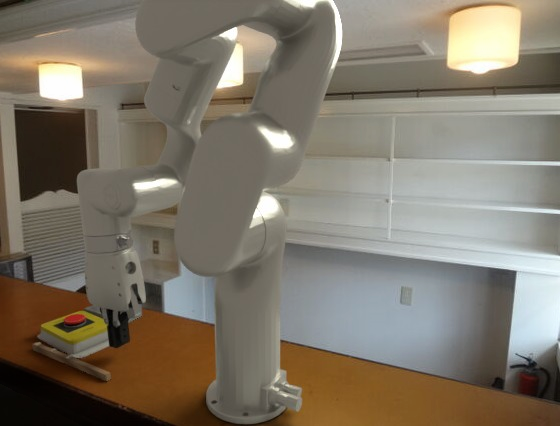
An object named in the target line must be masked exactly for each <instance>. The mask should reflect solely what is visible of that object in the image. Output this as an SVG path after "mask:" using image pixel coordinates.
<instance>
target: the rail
mask: <svg viewBox="0 0 560 426" xmlns="http://www.w3.org/2000/svg"><path fill="white" fill-rule="evenodd" d="M32 350H33V351H34V352H36V353H39V354H41V355H42V356H46V357H48V358H50V359H53V360H54V361H58V362H60V363H62V364H64V363H65V365H67V364H68V365H67V366H69V365H70V367H71V366H73V367H72V368H74V367H75V368H74V369H76V368H77V369H76V370H78V369H79V371H80V372H83V371H84V372H83V373H85V372H86V374H88V375H90V374H91V375H90V376H92V375H94V376H93V377H95V376H96V377H95V378H97V379H99V378H100V380H102V381H104V382H106V381H107V382H109V381H111V380H112V376H111V371H110V372H109V371H108V370H105V369H103V368H100V367H98V366H95V365H93V364H91V363H88V362H86V361H83V360H81V359H76V358H74V357H73V356H72V355H68V354H66V353H64V352H63V351H60V350H58V349H57V348H55V347H53V348H52V347H49V346H47V345H45V344H42V342H40V341H38V342H33V343H32ZM110 379H111V380H110ZM108 380H109V381H108Z"/></svg>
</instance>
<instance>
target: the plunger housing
mask: <svg viewBox="0 0 560 426" xmlns="http://www.w3.org/2000/svg"><path fill="white" fill-rule="evenodd" d="M138 305H139V309H140V312H141V314H140V315H139V316H137V317H135V318H131V319H130V321H129V322H128V324H129V323H131V322H133V320H134V321H136V320H138V319H140V318H142V317H143V310H142V309H143V306H142V304H138ZM83 311H86V312H88V313H90V314H93V315H95V316H97V317H100V318H102V319H103V315H102V314H101V312H100V311H98V310H97V309H95V308H94V307H93V304H91V305H89V306H87V307H84V310H83ZM121 313H122V312H121ZM141 316H142V317H141ZM139 317H140V318H139ZM137 318H138V319H137ZM135 319H136V320H135Z"/></svg>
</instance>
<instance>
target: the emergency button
mask: <svg viewBox="0 0 560 426" xmlns="http://www.w3.org/2000/svg"><path fill="white" fill-rule="evenodd" d="M36 337H37V339H39V340H41V341H43V342H45V343H46V344H48V345H50V346H52V347H53V348H55V349H56V350H58V351H60V352H62V353H64V352H65V353H64V354H66V353H67V355H72V356H73V357H74V358H78V359H79V358H81V359H84V358H86V357H88V356H90V354H91V355H92V354H95V353H97V352H99V351H102V350H104V349H106V348H108V347H110V346H109V340H108V331H107V325H106V324H105V323H104V320H103V319H102V318H100V317H97V316H95V315H93V314H90V313H88V312H86V311H84V310H79V311H76V312H72V313H70V314H68V315H64V316H60V317H58V318H55V319H53V320H50V321H47V322H45V323H42V324H41V325H40V333H39V334H37V336H36ZM83 357H84V358H83ZM79 360H80V359H79Z"/></svg>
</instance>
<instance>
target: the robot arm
mask: <svg viewBox="0 0 560 426" xmlns="http://www.w3.org/2000/svg"><path fill="white" fill-rule="evenodd" d="M134 23H135V25H134V26H135V33H136V37H137V40H138V42H139V44H140V46H141V47H142V48H143V49H144V51H146V52H147V53H148V54H149V55H151V56H154V57H156V58H158V62H157V63H156V67H155V69H154V72H153V74H152V77H151V78H150V81H149V84H148V87H147V89H146V92H145V94H144V98H143V102H144V106H145V108H146V110H147V111H148V112H149V113H150V114H151V116H153V117H154V118H155V119H157V120H158V121H159V122H161V123H162V124H164V125H165V128H166V132H167V133H166V136H167V137H166V140H165V141H166V142H165V144H164V147H163V150H162V152H161V154H160V156H159V158H158V161H157V163H156V164H149V165H139V166H134V167H127V168H124V167H123V168H116V167H100V168H89V169H84V170H81V171H80V172H79V173H78V174H77V177H76V187H77V194H78V195H77V196H78V203H79V211H80V219H81V227H82V228H81V229H82V236H83V237H82V238H83V244H84V281H85V283H84V284H85V290H86V291H85V292H86V297H87V300H88V302H89V303H90V304H91V305H93V307H94V308H95V309H97V310H98V311H100V312H101V314H102V315H103V320H104V323H105V324H106V325H107V331H108V340H109V346H108V347H111V348H113V349H119V348H121V347H122V346H124V345H126V344H128V343H130V340H131V336H130V329H129V328H130V327H129V325H130V324H129V323H130V322H129V321H130V319H131V318H135V317H137V316H139V315H140V314H141V312H140V309H139V305H138V304H141V305H143V304H145V303H146V301H147V300H146V299H147V297H146V288H145V281H144V274H143V270H142V265H141V261H140V258H139V254H138V252H137V250H136V249H135V248H134V246H133V244H134V240H133V234H132V223H131V218H134V217H135V218H136V217H140V216H143V215H147V214H151V213H154V212H157V211H163V210H167V209H170V208H173V207H174V206H176V205H178V203H179V205H178V210H177V213H176V218H175V223H174V229H173V230H174V231H173V235H174V236H173V239H174V241H173V242H174V247H175V251H176V254H177V256H178V258H179V260H180V262H181V263H182V265H183V266H184V267H185V268H186V269H187V270H188V271H189V272H190V273H192V274H194V275H197V276H198V277H199V276H200V277H204V278H215V279H214V286H213V287H214V288H213V294H214V296H213V297H214V298H213V300H214V302H213V304H214V305H213V306H214V307H213V308H214V344H215V345H214V346H215V347H214V348H215V350H214V351H215V379H214V380H213V381H212V382H211V383H210V384H209V385H208V387H207V389H206V393H205V398H206V406H207V408H208V410H209V411H210V413H212V414H213V415H214V416H215V417H216V418H218V419H220V420H222V421H225V422H229V423H232V424H236V425H237V424H238V425H254V424H259V423H264V422H267V421H270V420H272V419H274V418H276V417H277V416H279V415H281V414H282V413H283V412H284V411H285V410H286V409H289V410H291V411H294V412H297V413H298V412H299V411H300V410H301V408H302V405H303V397H301V396H302V393H303V388H302V387H300V386H297V385H294V384H293V385H292V384H290V383H289V382H288V381H287V370H285V369H282V368H281V301H282V299H281V295H282V294H281V292H282V291H281V290H282V289H281V287H282V269H283V268H282V267H283V260H284V259H283V258H284V253H285V246H286V241H287V229H288V228H287V220H286V219H287V218H286V214H285V212H284V209H283V207H282V206H281V204H280V202H279V201H278V199H276V198H275V197H274V196H273V195H272V194H270V193H269V192H266V191H269V190H272V189H275V188H279V187H281V186H283V185H287V184H288V183H289V182H290V181H292V180H293V179H294V178H295V177H296V176H297V174H298V173H299V171H300V170H301V167H302V163H303V161H304V159H305V155H306V152H307V150H308V147H309V144H310V141H311V137H312V135H313V133H314V130H315V126H316V124H317V120H318V118H319V115H320V112H321V109H322V106H323V102H324V99H325V96H326V93H327V90H328V88H329V85H330V82H331V80H332V77H333V75H334V72H335V69H336V66H337V63H338V61H339V57H340V52H341V48H342V42H343V41H342V39H343V29H342V27H343V26H342V22H341V18H340V14H339V11H338V8H337V6H336V4H335V2H334V1H333V0H141V2H140V4H139V5H138V8H137V11H136V14H135V22H134ZM241 26H244V27H246V28H248V29H252V30H254V31H256V32H260V33H263V34H266V35H268V36H271V37H272V39H274V40H275V42H276V43H275V44H276V45H275V48H274V50H273V52H272V53H271V54H270V56H269V58H268V59H267V61H266V62H265V64H264V66H263V68H262V70H261V72H260V75H259V77H258V80H257V83H256V84H257V85H256V89H255V91H254V94H253V98H252V100H251V103H250V106H249V108H248V110H247V112H232V113H229V114H225V115H223V116H220V117H218V118H217V119H215V120H214V121H213V122H211V123H210V124H209V125H208V126H207V127H206V129H205V130H204V131H203V133H202V132H201V122H202V120H203V117H204V115H205V114H206V111H207V109H208V108H209V105H210V103H211V100H212V98H213V97H214V93H215V92H216V90H217V88H218V85H219V83H220V82H221V80H222V77H223V76H224V75H223V74H224V73H225V70H226V68H227V66H228V63H229V61H230V60H231V59H232V58H231V57H232V55H233V53H234V51H235V48H236V45H237V42H238V35H239V34H238V33H239V32H238V27H241ZM121 312H122V313H121ZM128 322H129V323H128Z"/></svg>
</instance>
